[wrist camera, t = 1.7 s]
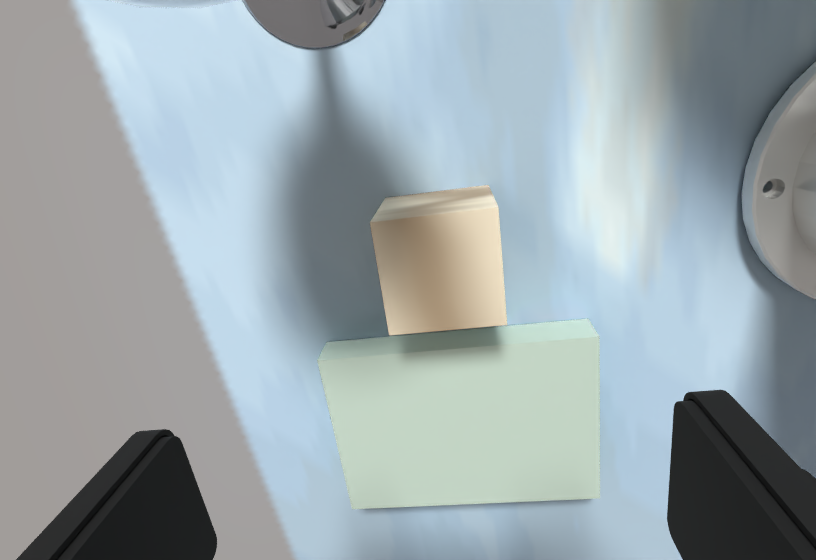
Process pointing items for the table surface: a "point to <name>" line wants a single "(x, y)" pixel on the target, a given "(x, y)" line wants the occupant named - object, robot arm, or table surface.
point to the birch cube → (440, 260)
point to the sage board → (467, 415)
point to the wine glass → (295, 17)
